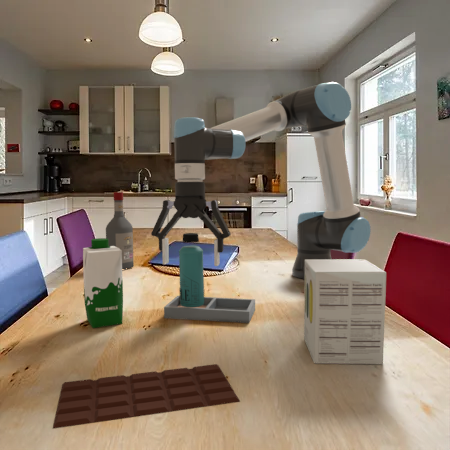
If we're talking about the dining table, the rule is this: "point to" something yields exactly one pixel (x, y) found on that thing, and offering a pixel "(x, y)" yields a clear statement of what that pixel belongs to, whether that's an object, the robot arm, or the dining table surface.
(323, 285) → the supplement box
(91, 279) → the milk carton
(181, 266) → the beverage bottle
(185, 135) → the robot arm
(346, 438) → the dining table surface
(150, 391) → the chocolate bar
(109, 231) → the liquor
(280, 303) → the dining table surface
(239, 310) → the tray
